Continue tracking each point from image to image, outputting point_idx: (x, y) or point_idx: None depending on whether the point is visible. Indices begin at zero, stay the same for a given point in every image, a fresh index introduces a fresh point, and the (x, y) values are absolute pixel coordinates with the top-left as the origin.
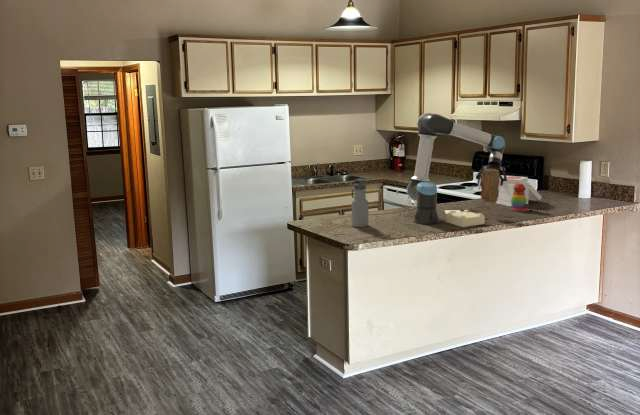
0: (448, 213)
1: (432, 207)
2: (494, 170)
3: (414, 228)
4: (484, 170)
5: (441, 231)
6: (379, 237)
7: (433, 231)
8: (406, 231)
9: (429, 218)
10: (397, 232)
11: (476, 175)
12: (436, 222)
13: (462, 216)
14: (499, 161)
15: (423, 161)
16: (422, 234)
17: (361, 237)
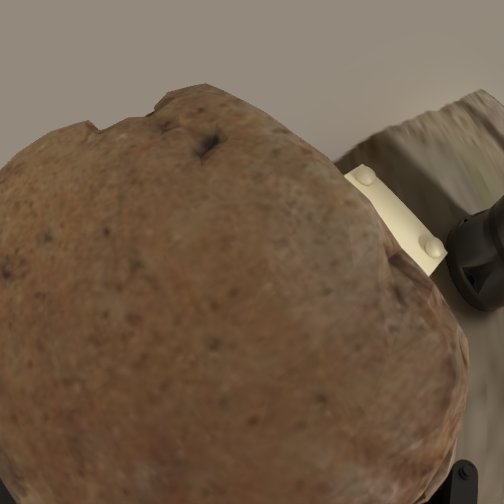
0: (438, 242)
1: (495, 204)
2: (85, 128)
3: (470, 174)
4: (446, 311)
5: (398, 138)
6: (479, 113)
7: (417, 140)
8: (469, 147)
9: (473, 215)
10: (478, 141)
11: (475, 488)
12: (449, 235)
13: (368, 167)
14: None
15: None
16: (427, 118)
17: (498, 119)
